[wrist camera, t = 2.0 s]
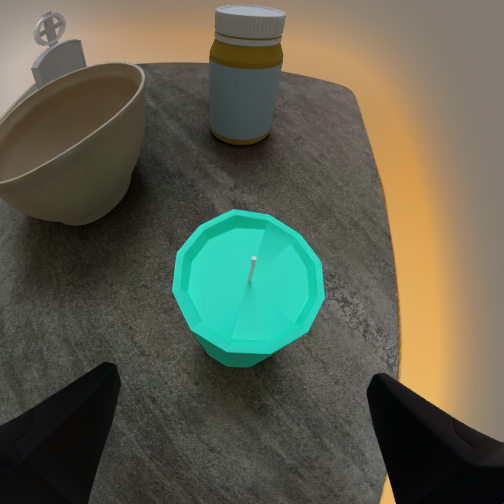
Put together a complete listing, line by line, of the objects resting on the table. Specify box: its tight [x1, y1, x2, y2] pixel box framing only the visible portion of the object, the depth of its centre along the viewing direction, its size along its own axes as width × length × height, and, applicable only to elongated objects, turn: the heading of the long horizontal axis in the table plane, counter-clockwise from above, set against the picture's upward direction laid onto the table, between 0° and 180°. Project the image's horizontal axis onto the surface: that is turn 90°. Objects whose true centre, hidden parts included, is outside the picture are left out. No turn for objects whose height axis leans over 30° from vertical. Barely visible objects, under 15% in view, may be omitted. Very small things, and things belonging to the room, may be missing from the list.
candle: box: [172, 209, 325, 367], centre depth 14 cm, size 6×6×12 cm
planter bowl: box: [0, 62, 146, 226], centre depth 20 cm, size 16×16×11 cm
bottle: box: [209, 5, 286, 145], centre depth 23 cm, size 7×7×15 cm
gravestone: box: [31, 11, 87, 89], centre depth 26 cm, size 3×9×18 cm, turn 156°
